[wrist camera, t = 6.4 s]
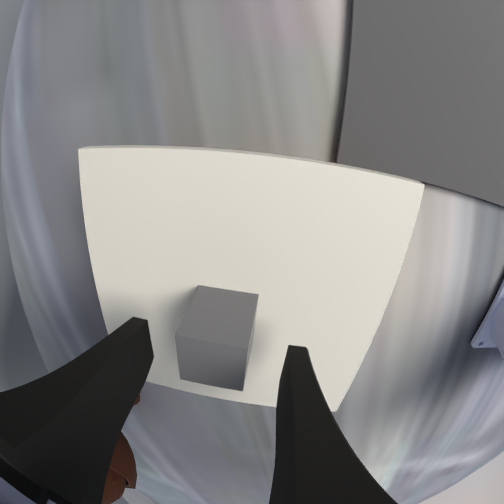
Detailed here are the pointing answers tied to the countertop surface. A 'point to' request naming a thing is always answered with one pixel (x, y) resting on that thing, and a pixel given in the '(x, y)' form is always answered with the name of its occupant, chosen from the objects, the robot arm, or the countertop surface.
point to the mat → (427, 93)
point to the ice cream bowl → (120, 470)
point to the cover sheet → (244, 261)
